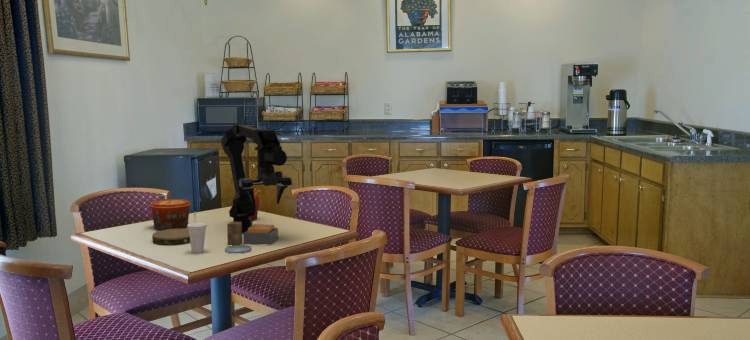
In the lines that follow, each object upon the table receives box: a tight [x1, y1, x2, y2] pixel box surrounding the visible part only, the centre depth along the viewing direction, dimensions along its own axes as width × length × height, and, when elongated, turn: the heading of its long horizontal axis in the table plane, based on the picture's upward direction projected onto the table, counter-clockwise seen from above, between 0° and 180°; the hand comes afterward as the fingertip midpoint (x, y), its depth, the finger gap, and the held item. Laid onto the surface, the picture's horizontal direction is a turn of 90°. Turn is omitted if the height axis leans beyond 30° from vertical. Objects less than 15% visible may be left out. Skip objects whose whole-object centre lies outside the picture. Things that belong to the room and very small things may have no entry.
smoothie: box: [186, 211, 208, 254], centre depth 200 cm, size 6×6×14 cm
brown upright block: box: [226, 221, 243, 246], centre depth 211 cm, size 4×4×8 cm
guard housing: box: [243, 227, 279, 245], centre depth 216 cm, size 10×10×4 cm
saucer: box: [224, 244, 252, 254], centre depth 203 cm, size 9×9×1 cm
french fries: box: [251, 188, 261, 222], centre depth 252 cm, size 9×8×15 cm
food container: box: [148, 198, 192, 231], centre depth 237 cm, size 16×16×11 cm
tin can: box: [151, 228, 191, 247], centre depth 217 cm, size 16×16×3 cm
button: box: [248, 223, 275, 233], centre depth 216 cm, size 8×8×2 cm
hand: (265, 204), depth 216 cm, fingers open, 9 cm apart
